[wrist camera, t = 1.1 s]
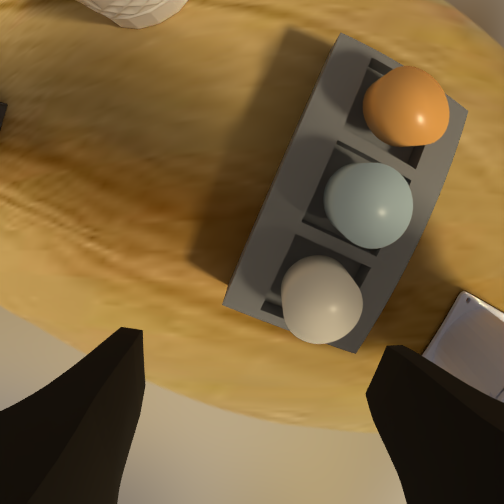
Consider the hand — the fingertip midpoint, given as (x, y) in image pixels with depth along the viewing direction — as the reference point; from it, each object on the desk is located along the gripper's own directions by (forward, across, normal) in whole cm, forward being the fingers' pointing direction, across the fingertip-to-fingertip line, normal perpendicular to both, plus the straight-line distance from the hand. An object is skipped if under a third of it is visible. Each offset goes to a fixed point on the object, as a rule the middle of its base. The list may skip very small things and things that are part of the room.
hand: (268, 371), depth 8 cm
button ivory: (+9, -4, +1) cm, 10 cm away
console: (+12, -6, -4) cm, 14 cm away
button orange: (+9, -7, -10) cm, 15 cm away
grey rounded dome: (+9, -5, -4) cm, 11 cm away
